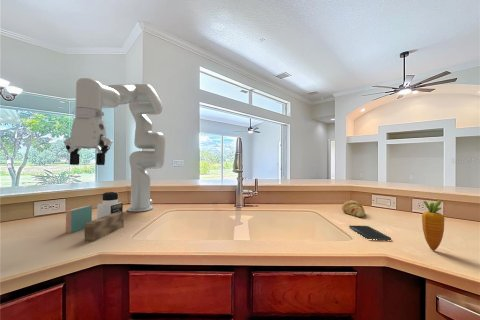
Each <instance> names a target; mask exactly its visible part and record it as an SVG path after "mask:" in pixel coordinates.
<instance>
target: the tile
mask: <svg viewBox="0 0 480 320" xmlns="http://www.w3.org/2000/svg"><path fill="white" fill-rule="evenodd" d="M65 215H66V216H65V233H66V234H70V233H71V234H74V233H76V232H78V231H81V230H83V229H84V230H85V223H87V222H90V221H93V219H92V218H93V217H92V216H93V205H83V206H80V207H75V208H72V209H70V208H69V209H67V210H66V211H65Z"/></svg>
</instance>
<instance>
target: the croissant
mask: <svg viewBox="0 0 480 320" xmlns="http://www.w3.org/2000/svg"><path fill="white" fill-rule="evenodd" d="M341 210H342V211H343V212H344V213H345V214H347V215H350V214H351V216H353V217H359V218H361V217H365V214H366V213H365V211H366V210H365V208H364V206H363V205H362V203H360V202H358V201H356V200H354V199H350V200H347V201H345V202H344V203H342V205H341Z"/></svg>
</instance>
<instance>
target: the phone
mask: <svg viewBox="0 0 480 320" xmlns="http://www.w3.org/2000/svg"><path fill="white" fill-rule="evenodd" d="M348 228H349V229H350V230H351V231H353V232H355V233H356V232H357V233H356V234H358V235H359V234H360V236H361V235H362V236H363V237H362V236H361V237H362V238H364V237H365V238H364V239H366V238H367V239H372V240H373V239H375V240H376V239H377V240H391V241H392V238H391V236H388V235H387V234H385V233H383V232H381V231H379V230H377V229H375V228H373V227H371V226H369V225H348ZM367 239H366V240H367Z"/></svg>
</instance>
